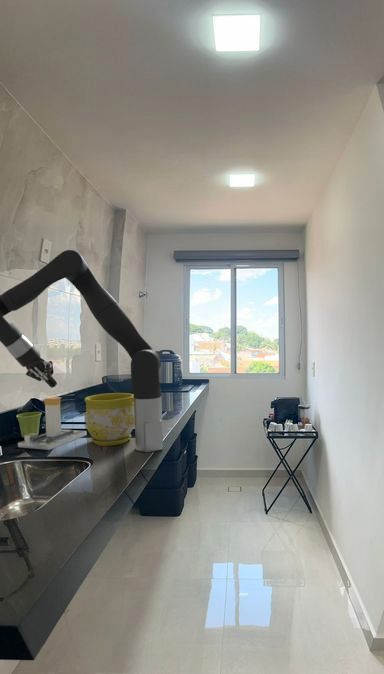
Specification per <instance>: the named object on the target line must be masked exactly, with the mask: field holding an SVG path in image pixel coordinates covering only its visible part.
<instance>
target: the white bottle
mask: <svg viewBox="0 0 384 674" xmlns="http://www.w3.org/2000/svg"><path fill="white" fill-rule="evenodd" d="M44 407H45V408H44V409H45V411H44V412H45V434H46V437H54V436H57V435H59V434H61V429H62V422H61V421H62V420H61V419H62V417H61V397H53V396H50V397H46V398H44Z"/></svg>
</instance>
